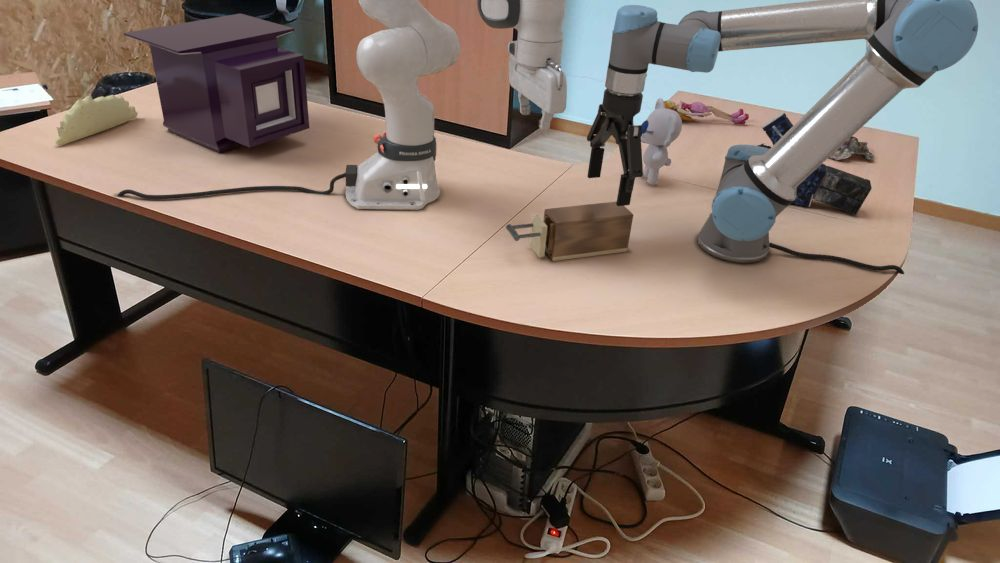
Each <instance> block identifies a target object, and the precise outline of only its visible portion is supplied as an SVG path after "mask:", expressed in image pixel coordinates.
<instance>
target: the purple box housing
mask: <svg viewBox="0 0 1000 563" xmlns="http://www.w3.org/2000/svg"><path fill="white" fill-rule="evenodd" d="M294 31H295V28H294V27H292V26H287V25H283V24H279V23H276V22H272V21H269V20H264V19H262V18H259V17H256V16H255V17H254V16H252V15H247V14H244V13H235V14H230V15H224V16H217V17H212V18H205V19H200V20H194V21H188V22H181V23H175V24H169V25H163V26H157V27H151V28H146V29H145V28H144V29H139V30H134V31H128V32H123V36H125V37H127V38H130V39H133V40H136V41H138V42H142V43H145V44H148V45H149V50H150V54H151V60H152V66H153V71H154V75H155V76H154V77H155V82H156V87H157V92H158V97H159V102H160V107H161V113H162V118H163V122H162V126H163V127H165V128H166V129H167V131H168V132H170V133H172V134H175V135H177V136H179V137H182V138H184V139H187V140H189V141H191V142H193V143H196V144H197V145H200V146H203V147H205V148H207V149H209V150H212V151H215V152H217V153H219V154H220V153H224V152H227V151H229V150H233V149H235V148H237V144H240V145H242V146H245V147H247V148H249V149H250V148H253V147H256V146H259V145H262V144H266V143H269V142H271V141H275V140H278V139H281V138H285V137H287V136H289V135H293V134H296V133H300V132H302V131H305V130H308V129H310V118H309V105H308V94H307V93H308V92H307V80H306V79H307V78H306V68H305V56H304V54H303V53H302V54H301V53H297V52H296V51H295V52H294V51H291V50H288V49H285V48H282V47H279V44H278V40H277V38H280V37H282V36H286V35H287V34H291V33H292V32H294Z"/></svg>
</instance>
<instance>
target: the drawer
mask: <svg viewBox="0 0 1000 563" xmlns="http://www.w3.org/2000/svg"><path fill="white" fill-rule="evenodd" d="M531 218H532V219H531V223H523V224H513V225H512V224H511V223H508V224H506V226H505V230H506V231H507V232H508V233H509V235H510V236H511V237H512V238H513V240H514V242H518V241H520V239H527V238H529V246H530V248H531V249H532V250H533V252H534V253H535V254H536V256H537V257H538V258H539V259H540V258H545V255H546V254H545V253H546V252H545V250H546V251H547V252H548V253H549V254H551V253H552V251H553V242H554V233H555V224H554V222H553V221H552V220H551V219H550V218H549V217H548V216H544V215H543V220H544V222H543V220H542V218H541V217H540V216H539V214H533V215H532V217H531ZM527 228H528V229H529V228H531V230H530V233H522V234H519V233H518V232H517V230H519V229H520V230H521V229H527Z"/></svg>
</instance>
